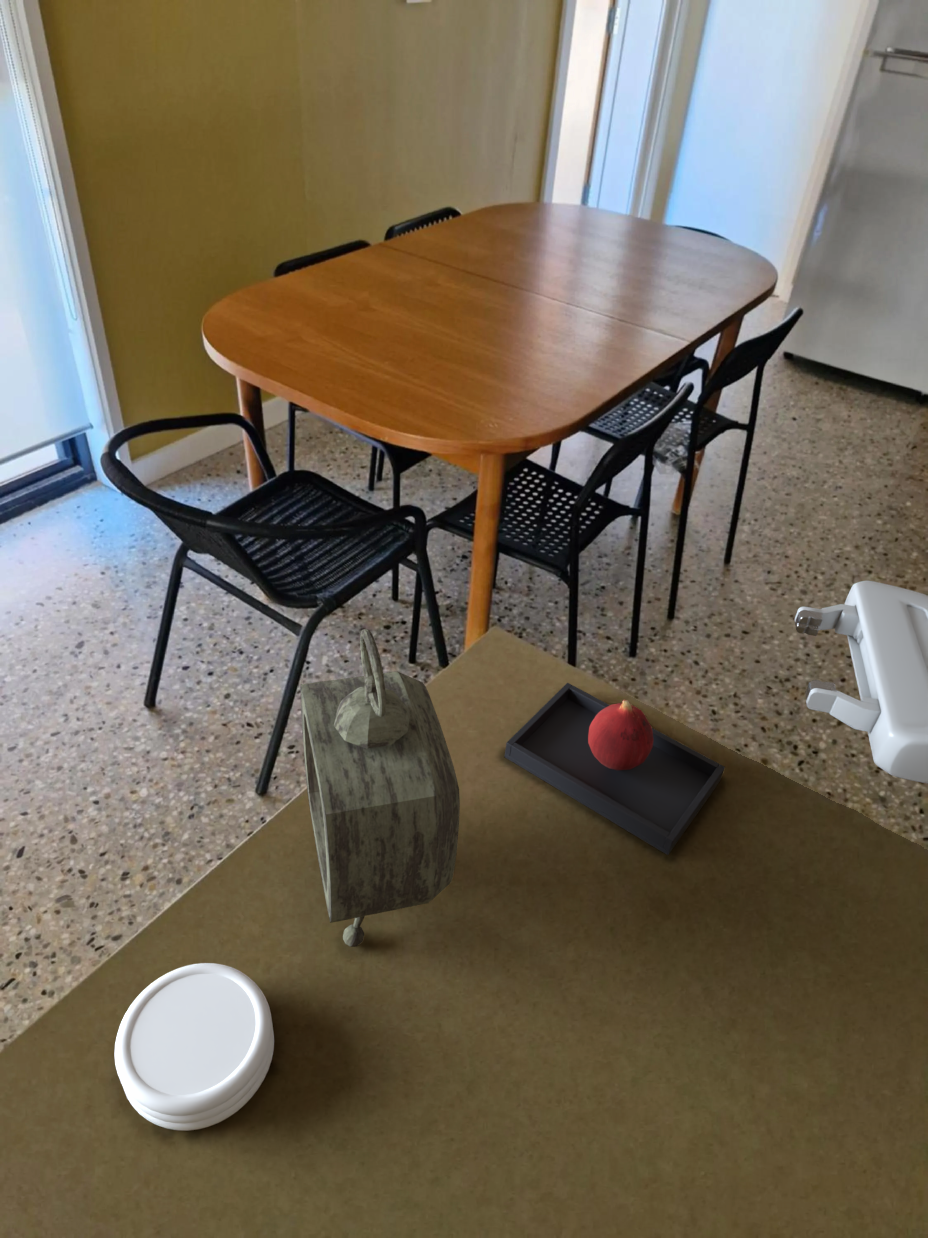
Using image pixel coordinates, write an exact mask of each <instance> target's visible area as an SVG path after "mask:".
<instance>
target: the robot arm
mask: <svg viewBox="0 0 928 1238" xmlns="http://www.w3.org/2000/svg"><path fill="white" fill-rule="evenodd" d="M794 625H795V631H796V632H797V633H799V634H802V635H804V634H806V635H808V636H813V637H817V636H818V633H819V631H825V630H834V633H836V634H839V635H844V636H846V637H847V642H848V647H849V652H850V656H851V661H852V665H853V666H852V667H853V671H854V676H855V680H856V684H857V690H858V695H859V698H860V699H857V698H855V697H853V696H851V695H849V694H846V693H845V692H841V691H839V690H837V688H836V683H834V682H831V681H822V680H821V679H820V680H819V679H813V680H810V681H808V685H807V688H805V692H804V694H805V703H806V707H807V708H808V709H809V710H812V711H817V712H823V713H826V714H829V715H830V716H832V717H834V718H835V719H837V720H838V721H840V722H842V723H843V724H845V725H847V726H848V727H850V728H852V729H853V730H857V731H863V732H866V733H867V736H868V740H869V745H870V750H871V755H872V759H873V760H872V761H873V762H874V764H875V766H877V767H878V768H879V769H881V770H882V771H884V772H885V773H887V774H889V775H890V776H893V777H895V778H898V779H902V780H907V781H911V782H915V783H916V782H917V783H921V784H928V594H925V593H923V592H919V591H915V590H911V589H908V588H904V587H900V586H896V585H892V584H888V583H883V582H879V581H874V580H862V581H858V582H854V583H853V585H852V586H851V588H850V590H849V591H848V595H847V596H846V599H845V601H844V603H839V604H835V605H834V604H833V605H831V606H826V607H822V608H816V607H811V606H804V605H803V606H800V607H799V608H798V609H797V611H796V614H795V616H794Z"/></svg>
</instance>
